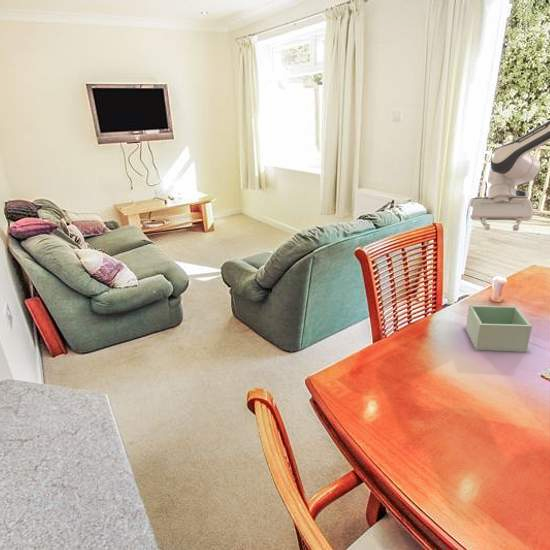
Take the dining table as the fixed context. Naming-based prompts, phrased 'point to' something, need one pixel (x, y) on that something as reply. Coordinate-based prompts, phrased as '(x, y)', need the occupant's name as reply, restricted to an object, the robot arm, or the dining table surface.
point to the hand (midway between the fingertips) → (501, 229)
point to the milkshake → (498, 288)
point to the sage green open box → (498, 328)
